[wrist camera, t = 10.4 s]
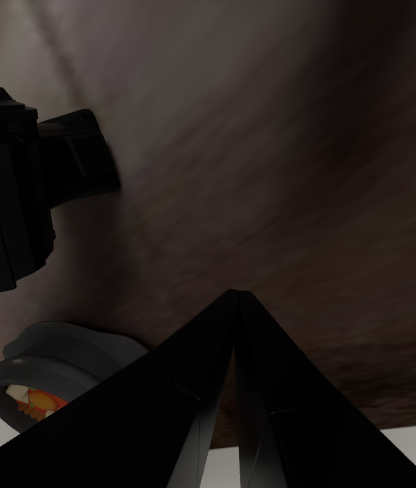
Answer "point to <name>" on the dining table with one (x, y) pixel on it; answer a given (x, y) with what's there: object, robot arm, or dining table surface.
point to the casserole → (57, 368)
